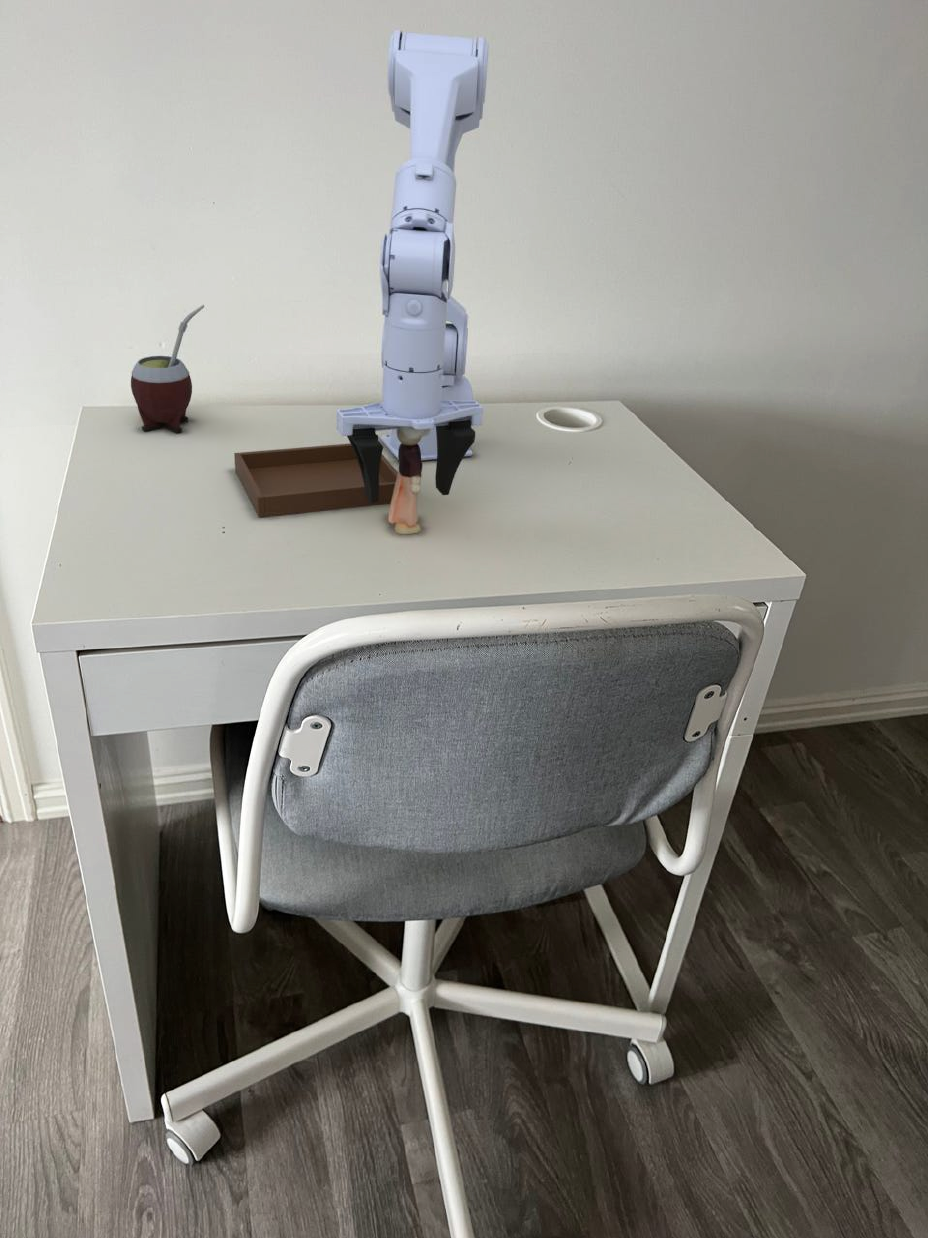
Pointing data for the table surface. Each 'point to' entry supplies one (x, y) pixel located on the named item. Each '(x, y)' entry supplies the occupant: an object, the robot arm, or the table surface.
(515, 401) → the table surface
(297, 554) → the table surface
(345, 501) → the tray
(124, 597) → the table surface
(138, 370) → the mate gourd
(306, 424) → the table surface
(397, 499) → the grandmother figurine
